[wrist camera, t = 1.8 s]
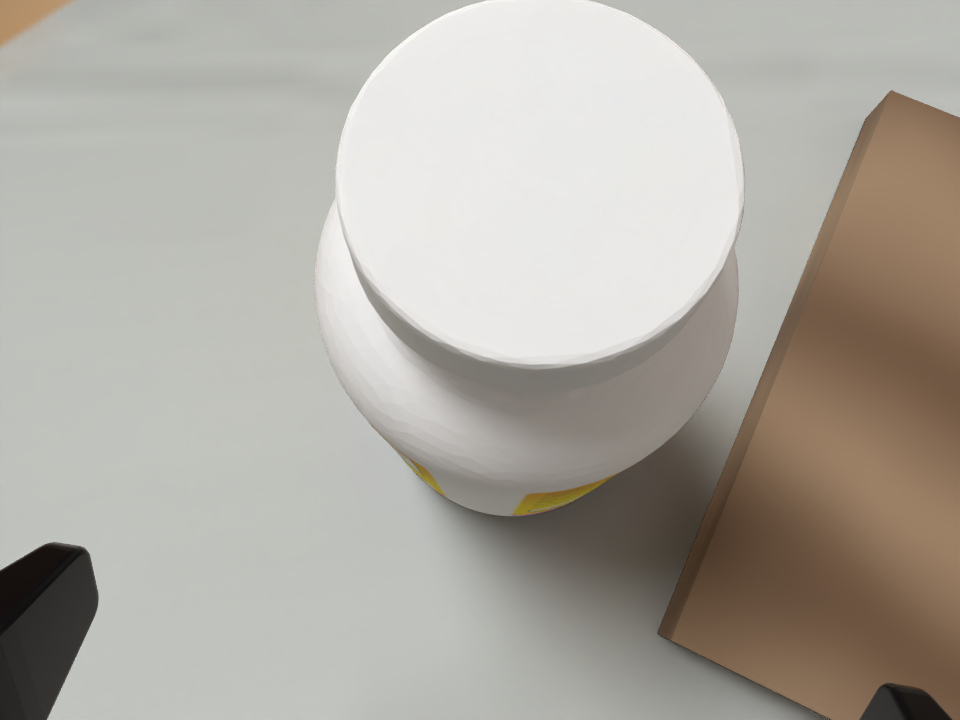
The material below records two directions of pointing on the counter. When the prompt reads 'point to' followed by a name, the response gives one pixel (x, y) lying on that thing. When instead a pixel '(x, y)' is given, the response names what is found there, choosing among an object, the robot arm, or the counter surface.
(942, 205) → the walnut board
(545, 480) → the supplement bottle
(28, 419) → the counter surface
